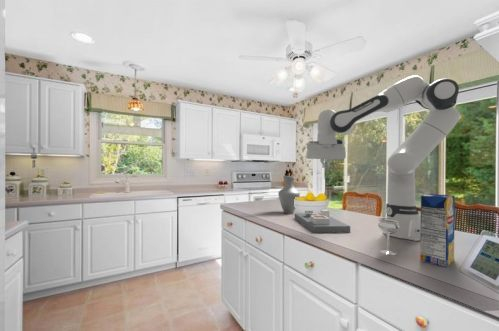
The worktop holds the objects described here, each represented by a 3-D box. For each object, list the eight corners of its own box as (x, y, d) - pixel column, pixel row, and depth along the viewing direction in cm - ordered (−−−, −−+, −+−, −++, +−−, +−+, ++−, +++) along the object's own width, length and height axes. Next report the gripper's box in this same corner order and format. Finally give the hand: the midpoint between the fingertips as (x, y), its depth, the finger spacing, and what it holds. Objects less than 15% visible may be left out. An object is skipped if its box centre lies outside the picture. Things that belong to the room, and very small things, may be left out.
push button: (322, 220, 123) (322, 217, 123) (326, 223, 118) (326, 219, 118) (313, 220, 123) (313, 217, 123) (316, 223, 118) (316, 219, 118)
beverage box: (420, 260, 80) (421, 195, 80) (429, 253, 87) (430, 193, 87) (446, 267, 75) (446, 197, 75) (454, 259, 82) (454, 195, 82)
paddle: (327, 217, 132) (327, 209, 132) (329, 218, 130) (329, 210, 130) (320, 217, 132) (320, 209, 132) (322, 218, 130) (322, 210, 130)
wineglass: (375, 252, 87) (376, 219, 88) (380, 248, 93) (380, 217, 93) (397, 257, 83) (397, 222, 83) (400, 252, 88) (401, 219, 88)
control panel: (323, 218, 146) (323, 208, 147) (350, 232, 115) (350, 219, 115) (294, 218, 145) (294, 208, 145) (314, 232, 113) (314, 220, 113)
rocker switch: (309, 213, 139) (309, 210, 139) (312, 213, 134) (312, 210, 134) (304, 213, 138) (304, 210, 139) (307, 213, 134) (307, 210, 134)
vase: (302, 212, 165) (303, 176, 165) (294, 215, 153) (295, 176, 153) (283, 210, 173) (284, 175, 173) (274, 212, 161) (275, 175, 161)
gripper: (308, 140, 121) (308, 167, 121) (347, 141, 123) (347, 168, 123) (304, 141, 127) (304, 167, 127) (341, 142, 129) (341, 168, 129)
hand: (325, 167), depth 125 cm, fingers closed
